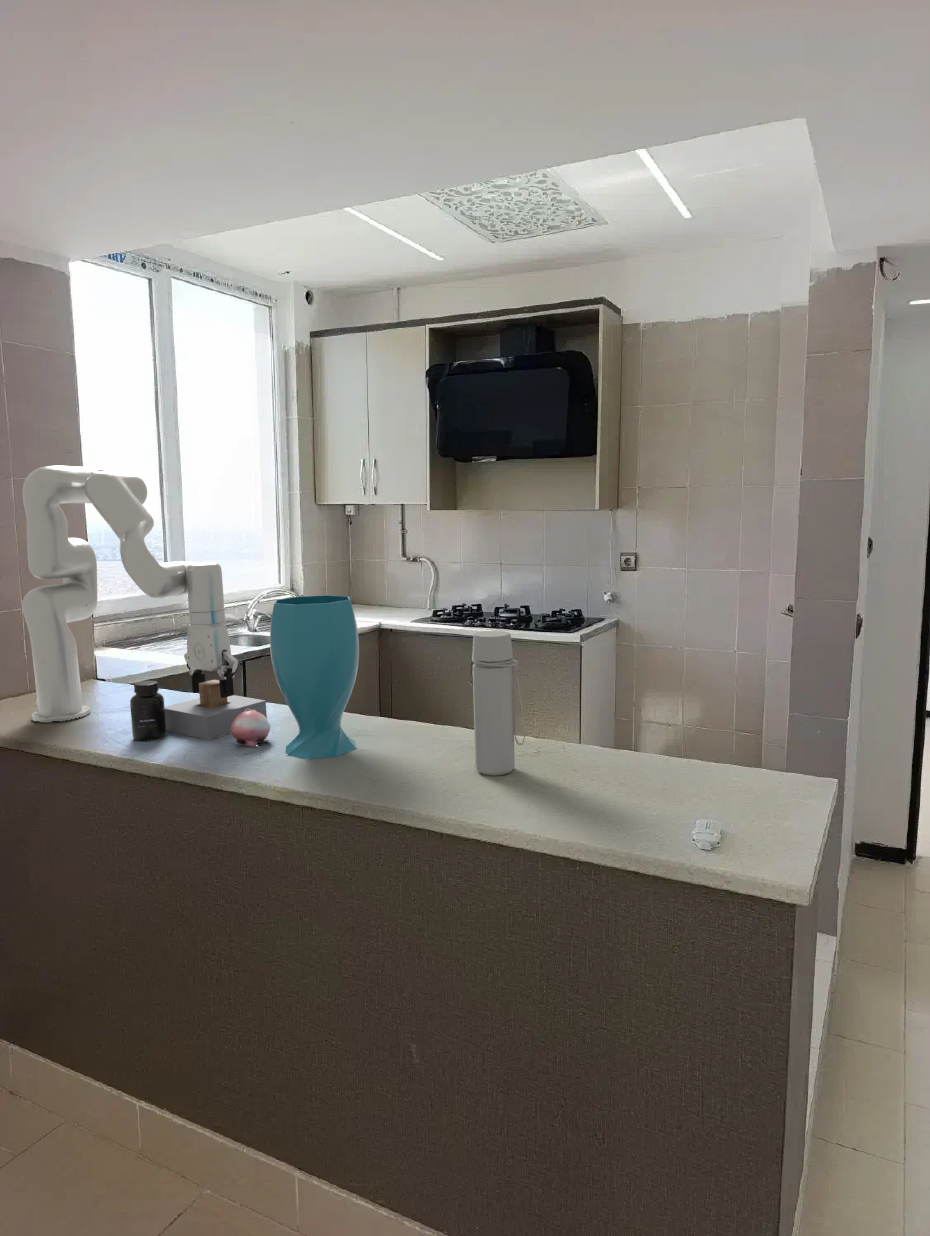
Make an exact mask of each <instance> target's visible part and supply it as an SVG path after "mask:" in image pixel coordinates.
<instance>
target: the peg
mask: <svg viewBox="0 0 930 1236" xmlns="http://www.w3.org/2000/svg"><path fill="white" fill-rule="evenodd" d="M219 680H220V679H212V680H211V679H210V680H207V681H206V680H205V682H202V683H199V692H198V693H199V698H200V706H201V707H207V708H215V707H219V706H222V705H226V704H228V701H227V697H225V698H221V696H220V683H219Z"/></svg>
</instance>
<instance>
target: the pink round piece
mask: <svg viewBox="0 0 930 1236" xmlns="http://www.w3.org/2000/svg"><path fill="white" fill-rule="evenodd" d="M230 731H231V733H230V735H231V737H232V738H233V739H234V740H235V743H236V744H237V745H239V746H240V745H241V746H246V747H250V748H257V747H256V745H259V744H258V743H262V744H261V746H262V745H264V744H263V743H265V744H266V742H268V741H270V740H266V738H268V736H269V734H270V731H271V727H270V723H269V720H268V718H267V719H266V717H265V716H264V715H263V714H261V713H259V712H257V711H256V710H251V709H246V710H245V711H244V712H242V713H240V714H239V715H238V716H236V718H235V719H234V721H233V723H232V725H231V728H230ZM265 740H266V741H265ZM263 741H264V742H263Z"/></svg>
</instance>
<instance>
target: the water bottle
mask: <svg viewBox="0 0 930 1236" xmlns="http://www.w3.org/2000/svg"><path fill="white" fill-rule="evenodd" d="M511 636H512V635H511V633H510V632H508V631H503V630H489V631H488V630H487V631H486V630H485V631H479V632H475V633H473V637H472V639H473V640H472V653H471V654H472V655H471V661H472V663H473V664H472V692H473V694H472V696H473V726H474V727H473V732H474V759H475V761H474V762H475V763H474V764H475V768H476V770H477V772H478V773H480V774H483V775H485V776H494V777H495V776H496V777H497V776H503V775H507V774H510V773H511V772H512V771H513V769H515V767H516V765H515V764H516V763H515V761H516V760H515V742H516V744H517V745H518V746H523V745H524V743H525V740H526V739H525V738H526V737H525V736H526V726H525V721H524V713H523V712H524V711H523V705H522V698H521V691H520V690H521V689H520V684H519V677H518V666H519V661H518V660H516V659H514V654H513V645H512V637H511ZM512 662H514V663H512ZM513 667H514V671H515V677H514V674H513V673H514V671H513ZM514 678H515V679H514ZM513 680H515V681H514V682H513ZM514 683H515V685H514ZM514 688H515V689H514ZM517 688H518V696H519V703H520V711H521V716H522V717H521V719H522V725H523V726H522V727H523V739H522V742H519V741H518V739H517Z"/></svg>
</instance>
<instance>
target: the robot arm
mask: <svg viewBox="0 0 930 1236" xmlns="http://www.w3.org/2000/svg"><path fill="white" fill-rule="evenodd" d="M147 498H148V488H147V485H146V483H145V481H144V480H143V479H142V478H141V477H140V476H139V475H138V474H136V473H135V472H132V471H123V470H122V471H121V470H116V469H115V470H113V469H108V468H107V469H106V468H98V467H91V466H73V465H72V466H71V465H48V466H47V465H46V466H40V467H38V468H36V469H34V470H32V471H31V472H30V473H29V474H28V475H27V477H26V478H25V480H24V482H23V486H22V501H23V502H22V503H23V508H24V511H25V513H24V514H25V517H26V544H27V546H26V549H27V564H28V569H29V572H30V573H31V575H32V576H33V577H34V578H36V579H39V580H42V581H43V580H44V581H48V580H61V579H62V583H55V584H49V585H42V586H37V587H35V588H33V589H31V590H30V591H28V592H27V593H26V594H25V595H24V597H23V599H22V602H21V603H22V604H21V609H22V614H23V617H24V619H25V623H26V626H27V630H28V633H29V639H30V646H31V654H32V664H33V672H34V682H35V691H36V692H35V693H36V700H34V703H35V704H36V706H37V709H38V710H37V711H35V712H33V713H32V714H31V721H33V722H36V721H41V722H40V723H53V722H52V721H60V722H66V720H67V721H71V719H72V720H76V719H75V718H77V719H79V717H80V718H82V717H85V716H87V715H89V714H90V713H91V708H90V707H89V706H88V705H83V697H82V688H81V676H80V667H79V657H78V647H77V641H76V639H75V635H74V633H73V632H72V630H71V629H70V627H69V625H68V624H69V623H73V622H78V621H83V620H85V619H88V618H90V617H92V615H93V614H94V613H95V611H96V609H97V605H98V566H97V565H98V564H97V556H96V554H95V550H94V549H93V547H92V546H91V544H90V543H89V542H88V541H87V540H84V539H83V538H79V537H69V533H68V532H69V531H68V530H69V525H68V524H69V522H68V519H67V516H66V514H65V513H64V510H63V509H62V508H61V506H60V505H62V504H92V506H93V507H94V508H95V510H96V511H97V513H98V514H99V515H100V516H101V518H102V519H104V521H105V522H106V524H107V525H108V526H109V527H110V529H111V530H112V531H113V532H114V534H115V535H116V537H117V539H119V553H120V558H121V559H120V560H121V563H122V565H123V568H124V569H125V572H126V573H127V574H128V576H129V577H130V578H131V580H132V581H133V582H134V583H135V585H136V586H137V588H138V589H139V590H141V592H143V593H144V594H145V595H147V596H148V597H150V598H152V599H164V598H171V597H178V596H182V595H187V602H188V604H187V605H188V618H189V624H188V627H187V635H186V653H185V654H184V655H183V657H184V659H185V662H186V667H187V669H188V670H189V671H188V673H189V675H190V676H191V677H190V678H191V689H192V693H193V694H196V693H199V683H202V682H206V675H205V672H210V673H211V672H216V673H217V674H218V676H219V677H220V679H218V680H219V683H220V696H221V698H225V697H229V696H233V695H234V694H235V693H234V678H235V674H236V673H237V668H238V665H239V660H238V658H236V657H235V656H234V655H233V654H232V650H231V643H230V637H229V632H228V628H227V625H226V613H225V610H226V609H225V600H224V599H225V598H224V585H223V572H222V567H221V565H220V564H219V563H218V562H212V561H209V562H208V561H204V562H202V561H201V562H192V561H186V560H179V561H169V562H158V560H156V558H155V557H154V556H153V555H152V553H151V552H150V551H149V549H148V548H147V545H146V543H145V542H146V541H145V537H147V536H148V535H149V533H150V532H151V531H152V530H153V527H154V526H155V522H154V521H155V520H154V518H153V517H152V515H151V514H150V513H149V512H148V511H147V509H146V508H145V507H144V506H143V504H144V503H145V502H146V500H147ZM204 671H205V672H204Z"/></svg>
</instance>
